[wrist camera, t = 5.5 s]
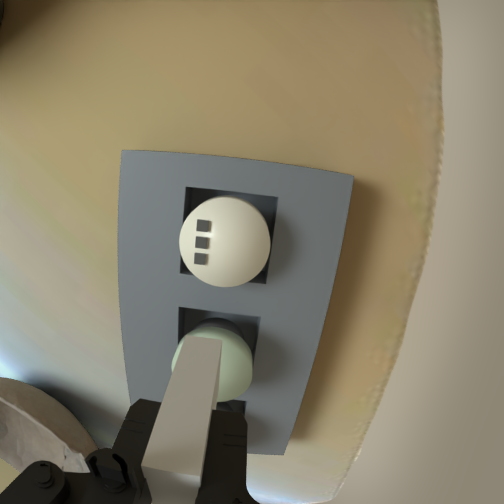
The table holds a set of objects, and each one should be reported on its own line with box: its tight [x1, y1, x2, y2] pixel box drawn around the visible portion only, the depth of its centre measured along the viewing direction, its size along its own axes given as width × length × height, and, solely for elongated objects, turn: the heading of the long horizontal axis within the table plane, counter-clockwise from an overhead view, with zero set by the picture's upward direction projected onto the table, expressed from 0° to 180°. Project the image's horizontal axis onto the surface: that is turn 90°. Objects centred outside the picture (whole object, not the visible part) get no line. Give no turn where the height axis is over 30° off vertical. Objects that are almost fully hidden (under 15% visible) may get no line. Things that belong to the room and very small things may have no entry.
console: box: [118, 150, 354, 455], centre depth 29 cm, size 18×32×4 cm, turn 173°
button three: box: [179, 195, 270, 287], centre depth 24 cm, size 6×6×5 cm
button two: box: [171, 317, 252, 402], centre depth 25 cm, size 6×6×5 cm
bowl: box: [0, 377, 98, 473], centre depth 32 cm, size 26×26×10 cm
